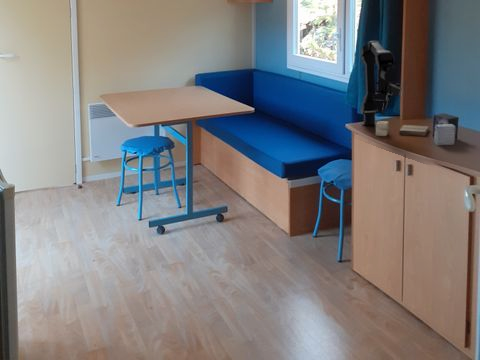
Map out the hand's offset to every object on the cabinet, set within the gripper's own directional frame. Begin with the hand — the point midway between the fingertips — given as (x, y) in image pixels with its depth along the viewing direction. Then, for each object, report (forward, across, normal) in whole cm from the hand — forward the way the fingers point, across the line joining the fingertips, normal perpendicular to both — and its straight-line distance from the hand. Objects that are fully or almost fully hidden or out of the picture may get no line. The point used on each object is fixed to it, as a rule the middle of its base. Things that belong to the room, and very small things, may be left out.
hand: (382, 111), depth 301 cm
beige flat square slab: (+11, +8, -14) cm, 20 cm away
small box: (+12, +1, -29) cm, 31 cm away
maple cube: (+11, 0, 0) cm, 11 cm away
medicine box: (+12, -11, -30) cm, 34 cm away
